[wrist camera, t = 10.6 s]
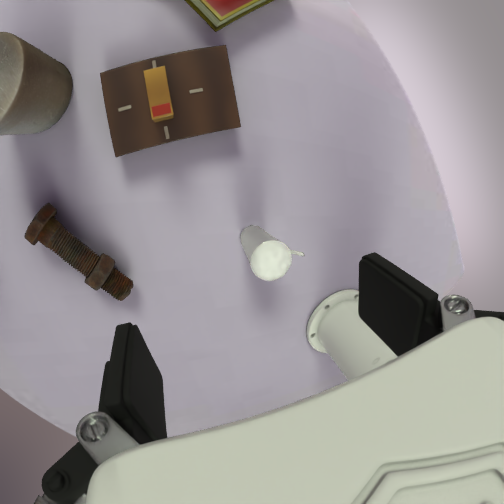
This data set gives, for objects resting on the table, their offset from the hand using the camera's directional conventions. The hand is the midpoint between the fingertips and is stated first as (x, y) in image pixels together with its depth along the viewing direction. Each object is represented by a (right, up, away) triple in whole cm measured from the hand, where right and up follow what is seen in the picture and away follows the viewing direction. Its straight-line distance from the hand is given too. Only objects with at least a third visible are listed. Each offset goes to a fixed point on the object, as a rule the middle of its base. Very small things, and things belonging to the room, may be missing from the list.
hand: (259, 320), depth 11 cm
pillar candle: (-26, +21, +13) cm, 36 cm away
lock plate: (-10, +20, +18) cm, 29 cm away
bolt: (-22, +3, +22) cm, 31 cm away
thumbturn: (-10, +19, +16) cm, 26 cm away
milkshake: (0, +5, +28) cm, 28 cm away
